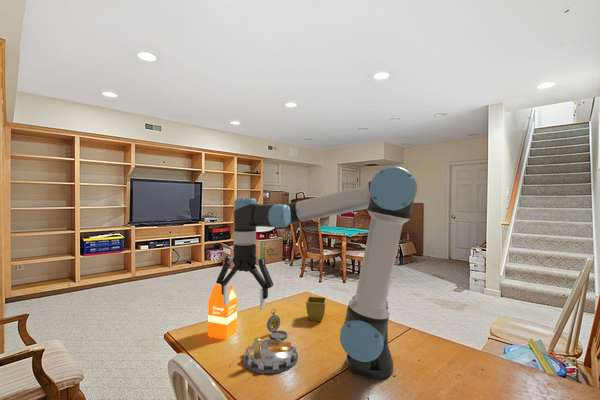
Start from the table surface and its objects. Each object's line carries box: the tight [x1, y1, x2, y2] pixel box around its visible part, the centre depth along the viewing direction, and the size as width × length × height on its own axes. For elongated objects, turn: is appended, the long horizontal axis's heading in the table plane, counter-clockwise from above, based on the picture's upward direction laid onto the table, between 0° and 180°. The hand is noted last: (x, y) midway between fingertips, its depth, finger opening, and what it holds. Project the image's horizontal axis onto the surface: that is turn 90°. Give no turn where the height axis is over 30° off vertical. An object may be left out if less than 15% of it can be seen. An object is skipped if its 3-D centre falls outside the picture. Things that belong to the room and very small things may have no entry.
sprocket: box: [243, 337, 297, 370], centre depth 100 cm, size 18×18×8 cm
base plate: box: [242, 351, 299, 375], centre depth 99 cm, size 19×19×1 cm
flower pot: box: [305, 296, 327, 322], centre depth 134 cm, size 9×9×9 cm
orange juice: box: [207, 283, 238, 341], centre depth 118 cm, size 8×9×20 cm
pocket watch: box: [266, 308, 288, 340], centre depth 117 cm, size 8×8×10 cm
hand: (244, 306), depth 97 cm, fingers open, 13 cm apart
